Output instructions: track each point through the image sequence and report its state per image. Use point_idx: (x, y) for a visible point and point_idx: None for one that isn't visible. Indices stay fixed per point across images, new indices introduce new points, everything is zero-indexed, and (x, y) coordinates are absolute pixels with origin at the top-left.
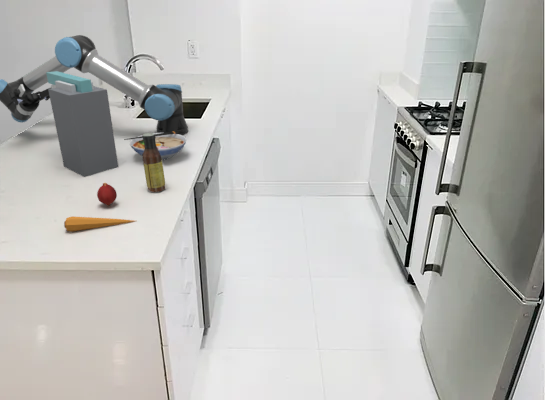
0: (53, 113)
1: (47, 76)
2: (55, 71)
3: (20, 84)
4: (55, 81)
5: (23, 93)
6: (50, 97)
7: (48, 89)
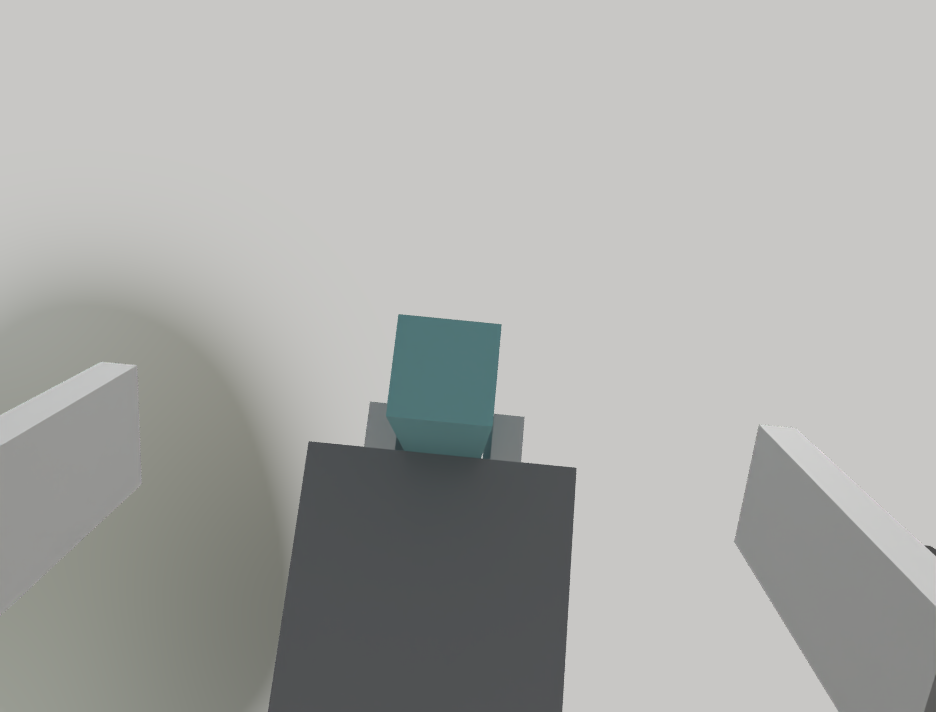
0: (564, 650)
1: (497, 363)
2: (415, 318)
3: (799, 431)
4: (523, 419)
5: (791, 634)
6: (570, 527)
7: (575, 471)
